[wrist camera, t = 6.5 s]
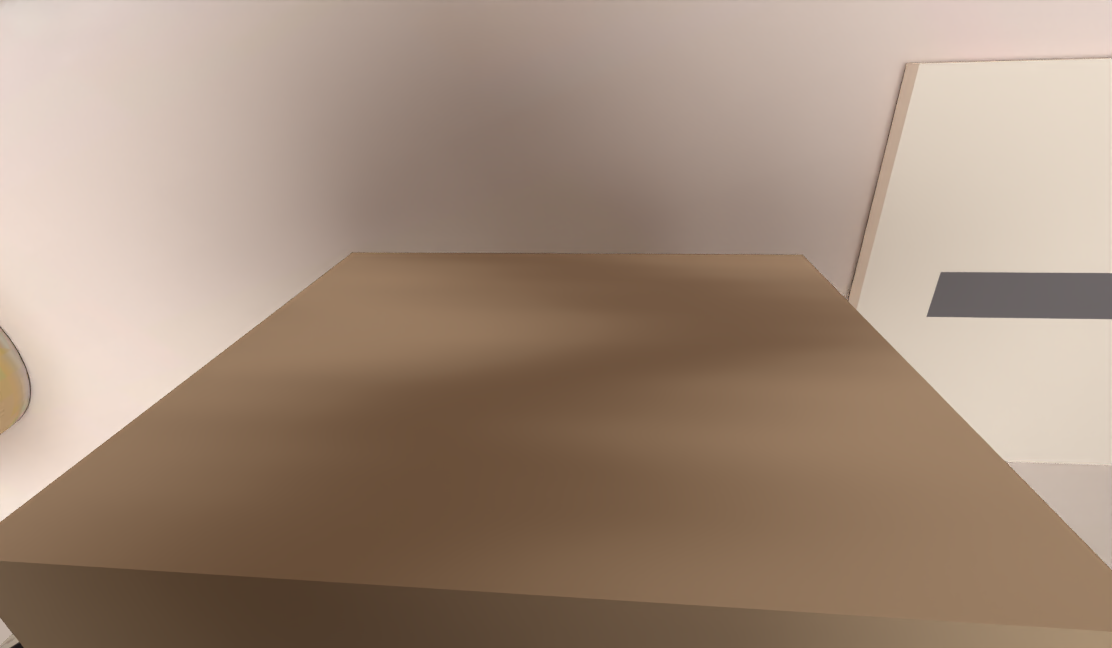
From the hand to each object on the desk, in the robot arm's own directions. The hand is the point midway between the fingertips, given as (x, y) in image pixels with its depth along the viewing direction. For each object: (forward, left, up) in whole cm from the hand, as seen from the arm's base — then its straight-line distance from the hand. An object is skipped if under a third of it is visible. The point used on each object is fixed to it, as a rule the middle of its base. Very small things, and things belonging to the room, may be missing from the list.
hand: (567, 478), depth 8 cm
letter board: (-14, +1, -10) cm, 17 cm away
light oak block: (0, 0, -1) cm, 1 cm away
